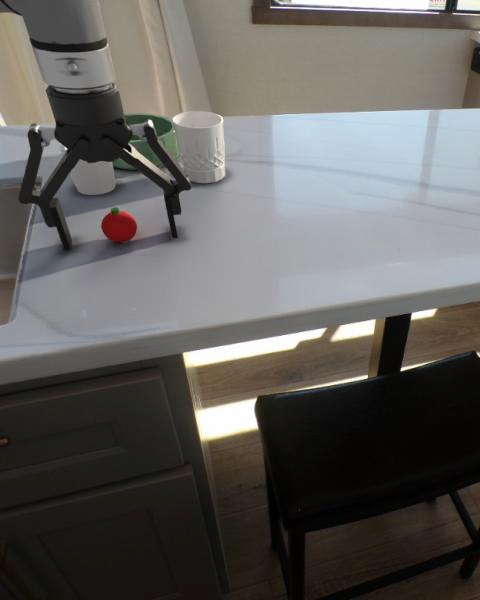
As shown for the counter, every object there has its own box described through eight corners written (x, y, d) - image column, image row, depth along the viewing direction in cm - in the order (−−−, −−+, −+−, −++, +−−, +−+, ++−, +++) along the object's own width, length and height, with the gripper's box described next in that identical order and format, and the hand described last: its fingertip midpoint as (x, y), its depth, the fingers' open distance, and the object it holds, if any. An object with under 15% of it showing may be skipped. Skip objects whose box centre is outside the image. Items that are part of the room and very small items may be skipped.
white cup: (204, 189, 88) (195, 131, 82) (171, 175, 91) (161, 118, 84) (238, 175, 93) (233, 119, 87) (207, 162, 96) (199, 107, 90)
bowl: (82, 161, 91) (73, 131, 88) (135, 136, 102) (129, 108, 98) (148, 178, 89) (142, 148, 85) (196, 151, 99) (192, 123, 96)
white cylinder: (126, 190, 85) (116, 149, 81) (81, 200, 81) (68, 158, 77) (110, 174, 89) (100, 134, 84) (66, 183, 85) (53, 142, 80)
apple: (98, 243, 73) (88, 212, 70) (120, 229, 76) (112, 198, 73) (125, 251, 72) (116, 219, 69) (146, 236, 75) (139, 205, 72)
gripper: (-58, 96, 54) (15, 265, 67) (197, 91, 62) (218, 242, 75) (-42, 75, 59) (23, 236, 72) (191, 73, 68) (211, 217, 81)
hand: (123, 239), depth 74 cm, fingers open, 13 cm apart
